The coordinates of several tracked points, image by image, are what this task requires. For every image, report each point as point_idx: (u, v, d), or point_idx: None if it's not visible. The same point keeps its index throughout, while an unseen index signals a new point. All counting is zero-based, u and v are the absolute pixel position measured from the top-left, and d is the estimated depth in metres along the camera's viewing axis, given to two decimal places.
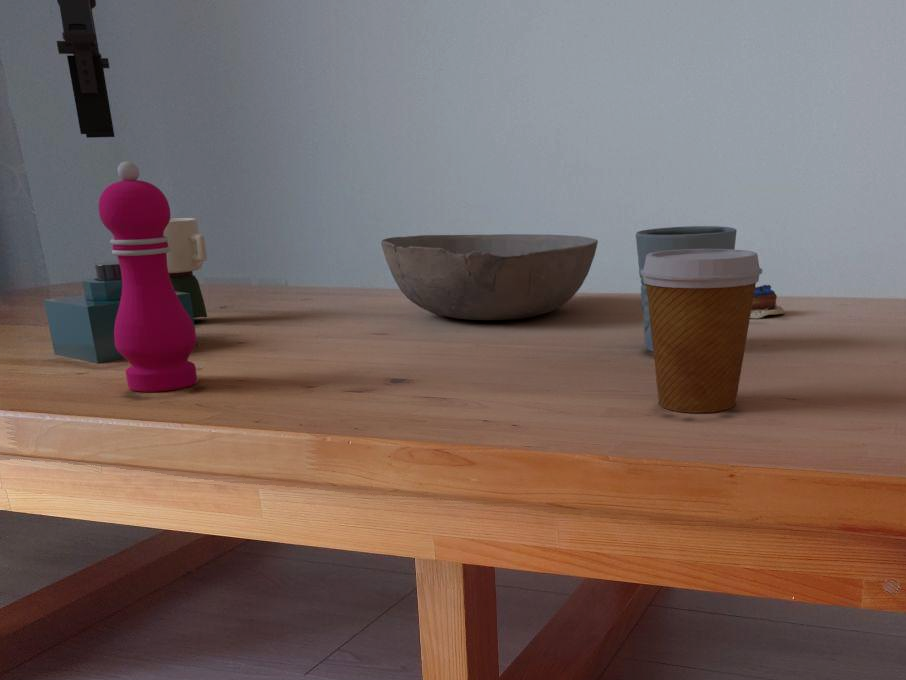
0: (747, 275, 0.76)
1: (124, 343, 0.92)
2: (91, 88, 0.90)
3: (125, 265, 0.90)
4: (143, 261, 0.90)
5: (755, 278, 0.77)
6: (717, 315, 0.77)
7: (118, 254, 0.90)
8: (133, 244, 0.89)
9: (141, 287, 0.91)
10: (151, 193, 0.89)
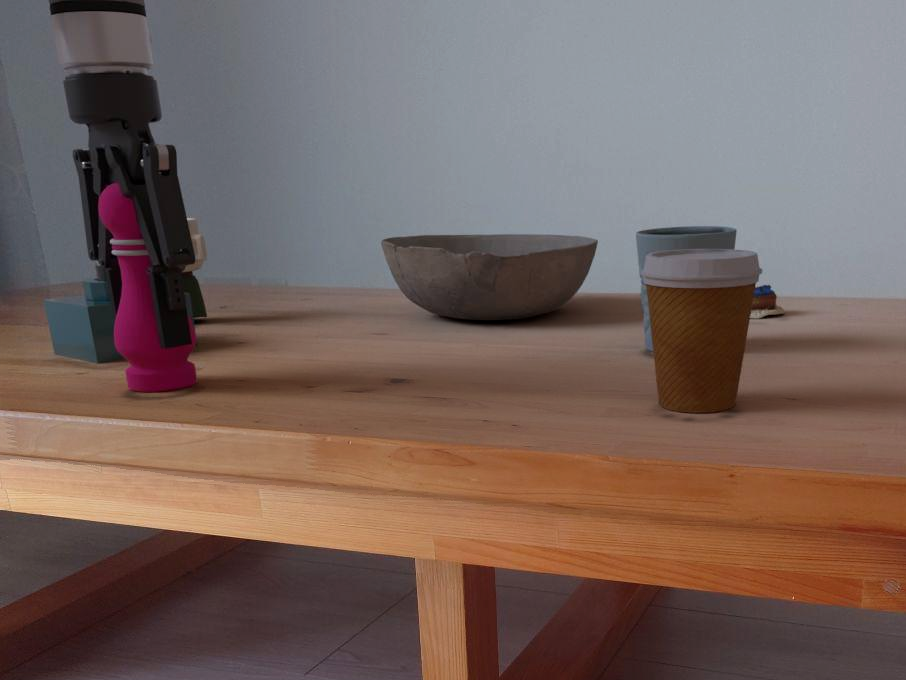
0: (747, 275, 0.76)
1: (123, 343, 0.92)
2: (181, 305, 0.90)
3: (125, 265, 0.90)
4: (142, 261, 0.90)
5: (755, 278, 0.77)
6: (717, 315, 0.77)
7: (118, 254, 0.90)
8: (133, 244, 0.89)
9: (141, 287, 0.91)
10: None
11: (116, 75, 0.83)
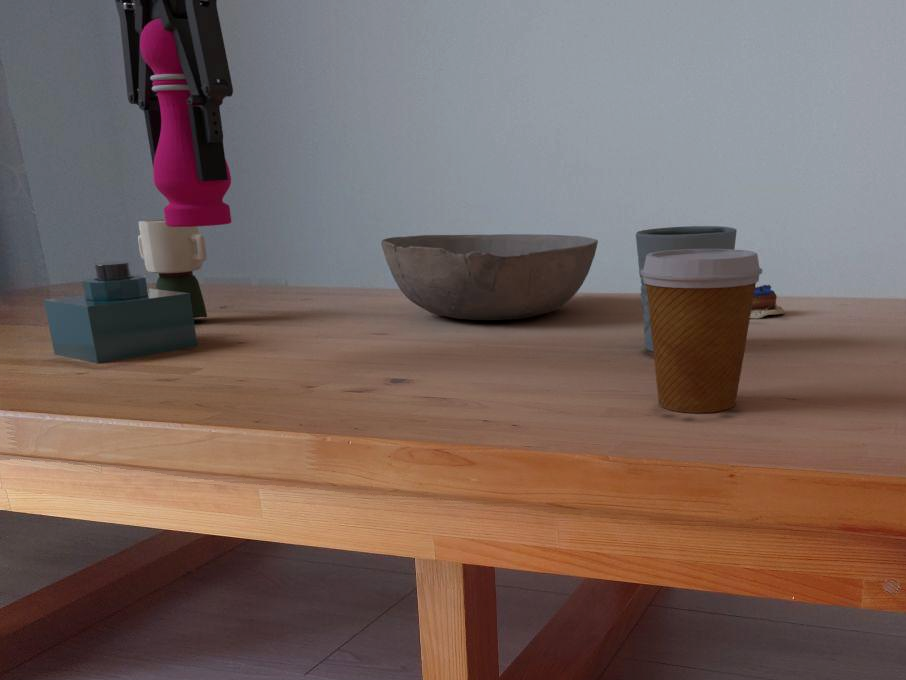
0: (747, 275, 0.76)
1: (163, 177, 0.96)
2: (218, 138, 0.94)
3: (165, 101, 0.95)
4: (182, 96, 0.94)
5: (755, 278, 0.77)
6: (717, 315, 0.77)
7: (158, 89, 0.94)
8: (173, 78, 0.93)
9: (180, 122, 0.95)
10: None
11: None
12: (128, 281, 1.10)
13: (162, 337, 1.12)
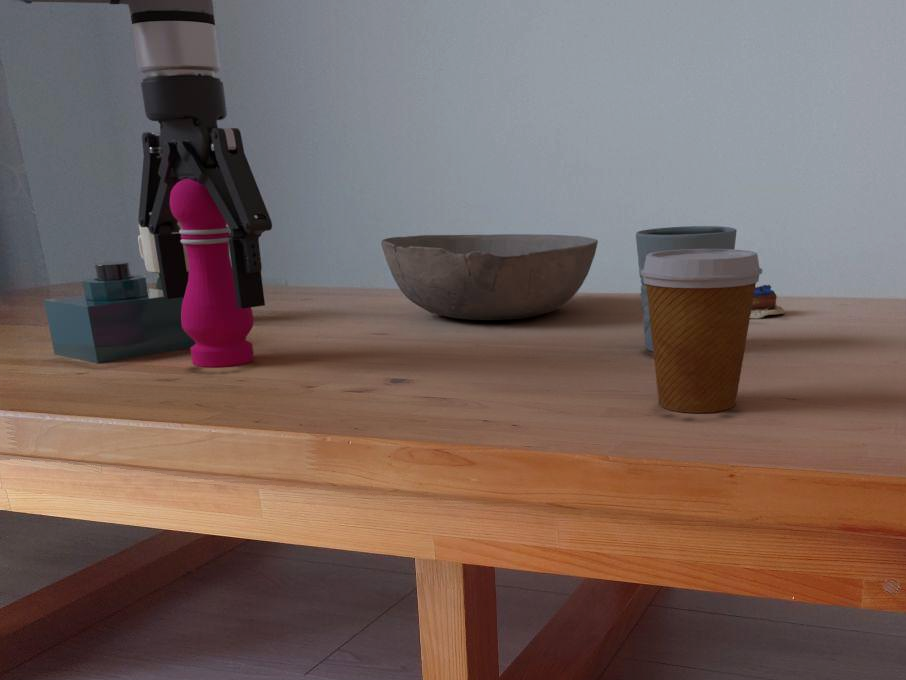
0: (747, 275, 0.76)
1: (191, 323, 1.02)
2: (257, 268, 0.98)
3: (193, 253, 1.01)
4: (209, 249, 1.00)
5: (755, 278, 0.77)
6: (717, 315, 0.77)
7: (187, 243, 1.00)
8: (201, 234, 0.99)
9: (207, 273, 1.01)
10: None
11: (190, 77, 0.94)
12: (128, 281, 1.10)
13: (162, 337, 1.12)
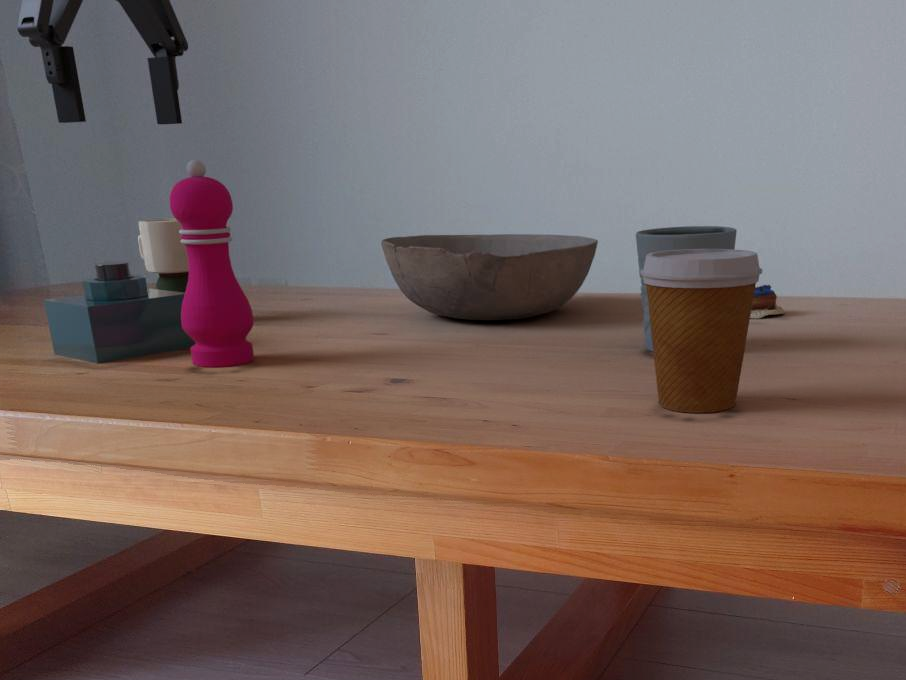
0: (747, 275, 0.76)
1: (191, 323, 1.02)
2: (54, 78, 0.94)
3: (193, 253, 1.01)
4: (209, 249, 1.00)
5: (755, 278, 0.77)
6: (717, 315, 0.77)
7: (187, 243, 1.00)
8: (201, 234, 0.99)
9: (207, 272, 1.01)
10: (217, 188, 0.99)
11: None
12: (128, 281, 1.10)
13: (162, 337, 1.12)
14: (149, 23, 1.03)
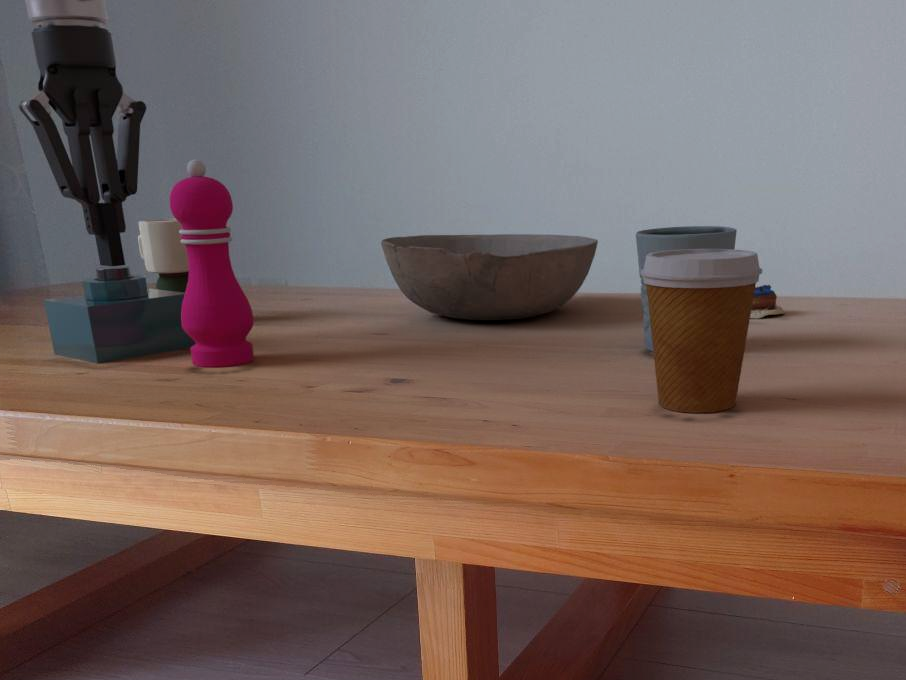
0: (747, 275, 0.76)
1: (191, 323, 1.02)
2: (91, 231, 1.08)
3: (193, 253, 1.01)
4: (209, 249, 1.00)
5: (755, 278, 0.77)
6: (717, 315, 0.77)
7: (187, 243, 1.00)
8: (201, 234, 0.99)
9: (207, 272, 1.01)
10: (217, 188, 0.99)
11: (33, 30, 1.01)
12: (128, 281, 1.10)
13: (162, 337, 1.12)
14: (104, 161, 1.07)
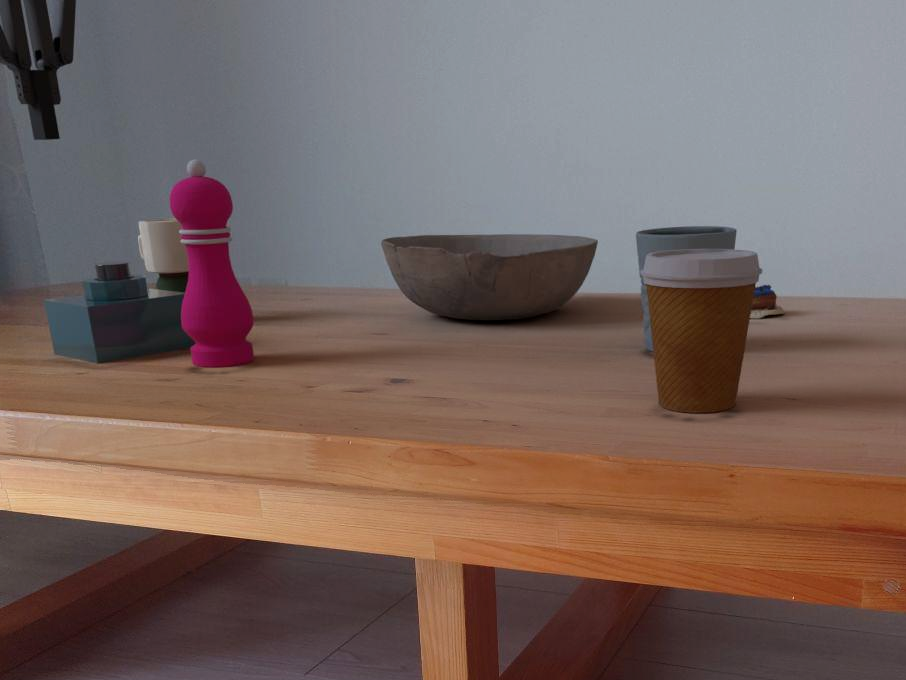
0: (747, 275, 0.76)
1: (191, 323, 1.02)
2: (23, 99, 1.03)
3: (193, 253, 1.01)
4: (209, 249, 1.00)
5: (755, 278, 0.77)
6: (717, 315, 0.77)
7: (187, 243, 1.00)
8: (201, 234, 0.99)
9: (207, 272, 1.01)
10: (217, 188, 0.99)
11: None
12: (128, 281, 1.10)
13: (162, 337, 1.12)
14: (37, 24, 1.02)
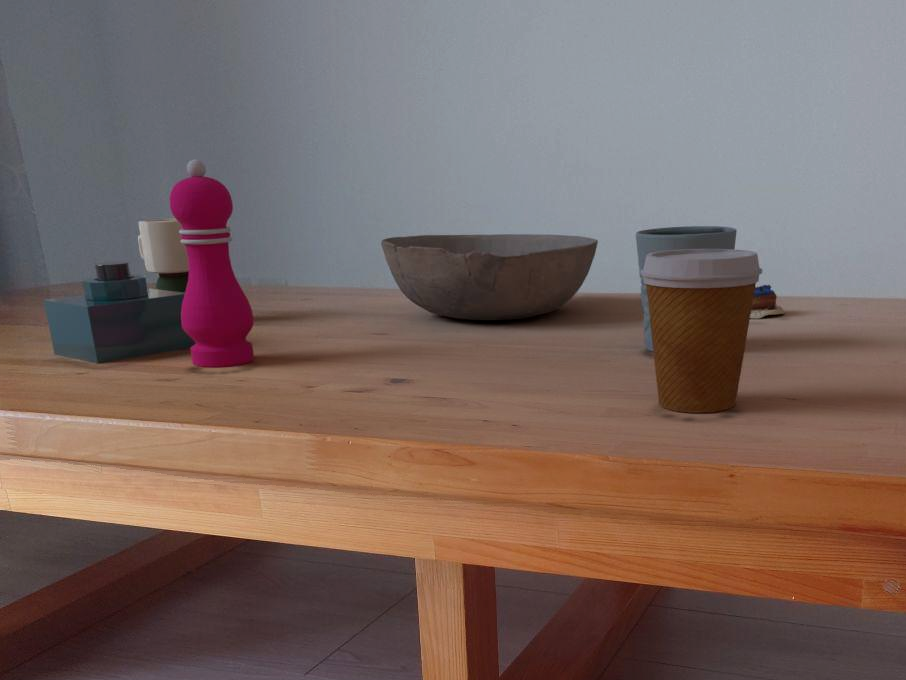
0: (747, 275, 0.76)
1: (191, 323, 1.02)
2: None
3: (193, 253, 1.01)
4: (209, 249, 1.00)
5: (755, 278, 0.77)
6: (717, 315, 0.77)
7: (187, 243, 1.00)
8: (201, 234, 0.99)
9: (207, 272, 1.01)
10: (217, 188, 0.99)
11: None
12: (128, 281, 1.10)
13: (162, 337, 1.12)
14: None
